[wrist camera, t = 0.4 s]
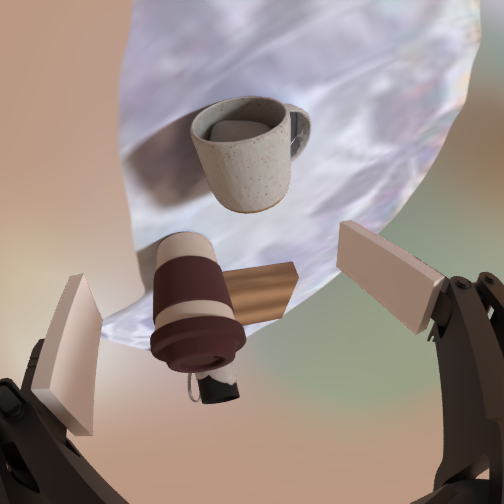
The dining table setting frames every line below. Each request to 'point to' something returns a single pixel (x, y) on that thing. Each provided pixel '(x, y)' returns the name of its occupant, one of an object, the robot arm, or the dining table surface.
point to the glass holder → (216, 385)
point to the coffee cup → (192, 307)
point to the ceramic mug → (249, 150)
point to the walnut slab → (261, 291)
